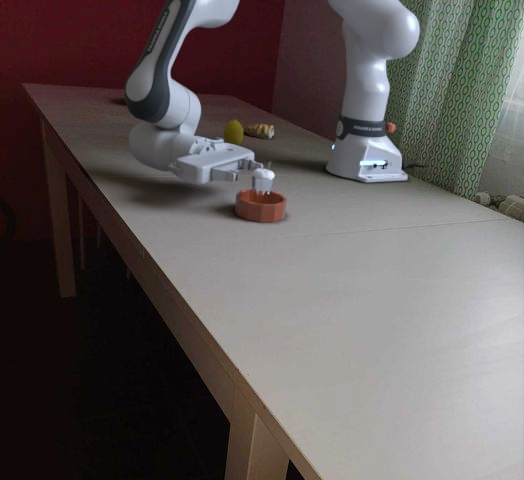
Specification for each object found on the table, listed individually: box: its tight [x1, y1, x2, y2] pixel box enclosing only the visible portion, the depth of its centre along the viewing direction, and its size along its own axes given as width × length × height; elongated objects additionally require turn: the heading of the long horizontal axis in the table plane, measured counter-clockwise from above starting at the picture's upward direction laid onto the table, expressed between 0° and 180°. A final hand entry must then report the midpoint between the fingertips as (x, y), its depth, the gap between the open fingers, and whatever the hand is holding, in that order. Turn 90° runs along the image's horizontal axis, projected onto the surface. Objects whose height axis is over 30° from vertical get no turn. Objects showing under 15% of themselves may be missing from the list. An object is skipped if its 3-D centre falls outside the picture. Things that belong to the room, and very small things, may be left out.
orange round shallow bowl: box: [234, 188, 288, 223], centre depth 110 cm, size 10×10×4 cm
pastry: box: [244, 123, 275, 140], centre depth 173 cm, size 9×7×4 cm
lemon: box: [223, 118, 244, 146], centre depth 154 cm, size 6×6×8 cm
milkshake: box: [251, 161, 276, 204], centre depth 108 cm, size 4×5×10 cm
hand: (248, 173), depth 109 cm, fingers open, 8 cm apart
